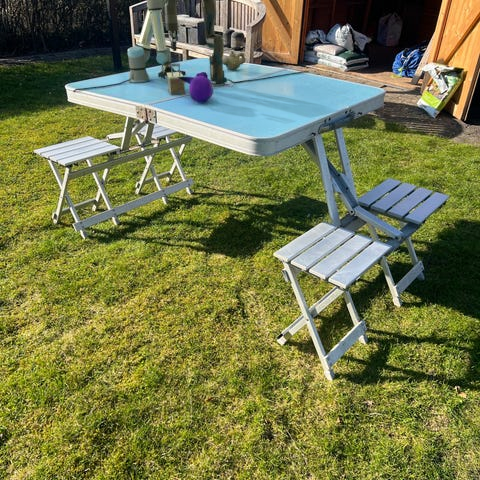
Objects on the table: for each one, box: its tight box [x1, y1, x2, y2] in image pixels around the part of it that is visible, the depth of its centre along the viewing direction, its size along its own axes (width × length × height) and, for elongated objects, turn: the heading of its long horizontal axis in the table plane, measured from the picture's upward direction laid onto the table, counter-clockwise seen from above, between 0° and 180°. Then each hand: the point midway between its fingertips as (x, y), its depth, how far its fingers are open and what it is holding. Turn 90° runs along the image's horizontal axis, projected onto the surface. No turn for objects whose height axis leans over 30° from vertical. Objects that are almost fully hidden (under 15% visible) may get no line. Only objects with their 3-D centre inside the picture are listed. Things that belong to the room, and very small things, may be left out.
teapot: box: [223, 50, 246, 71], centre depth 368 cm, size 21×12×15 cm, turn 120°
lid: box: [167, 62, 185, 79], centre depth 297 cm, size 17×9×9 cm, turn 14°
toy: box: [178, 71, 214, 104], centre depth 278 cm, size 16×18×27 cm
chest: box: [166, 75, 186, 96], centre depth 302 cm, size 16×9×10 cm, turn 14°
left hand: (173, 76), depth 322 cm, fingers open, 13 cm apart
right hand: (173, 50), depth 286 cm, fingers open, 8 cm apart
